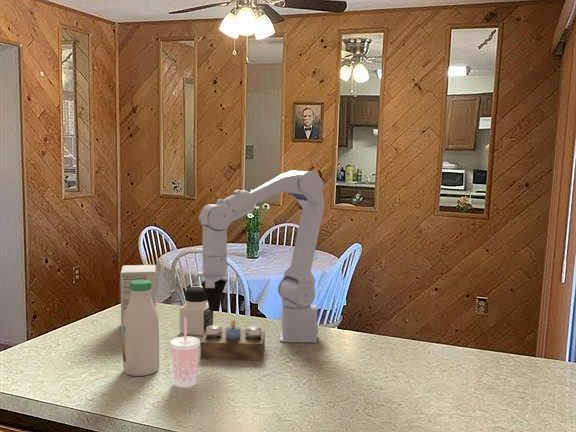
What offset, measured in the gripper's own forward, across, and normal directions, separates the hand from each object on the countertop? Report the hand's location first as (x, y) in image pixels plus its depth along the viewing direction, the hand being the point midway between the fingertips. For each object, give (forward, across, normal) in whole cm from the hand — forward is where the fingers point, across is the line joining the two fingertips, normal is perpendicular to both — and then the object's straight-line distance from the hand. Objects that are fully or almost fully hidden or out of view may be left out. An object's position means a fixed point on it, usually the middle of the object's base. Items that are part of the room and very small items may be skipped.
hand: (214, 310), depth 129 cm
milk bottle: (+11, +12, -14) cm, 22 cm away
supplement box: (+11, -17, -23) cm, 31 cm away
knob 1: (+10, 0, 0) cm, 10 cm away
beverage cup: (+11, +18, -3) cm, 21 cm away
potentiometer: (+6, +1, +5) cm, 8 cm away
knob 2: (+10, 0, +9) cm, 14 cm away
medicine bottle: (+11, -16, -7) cm, 20 cm away
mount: (+10, 0, +5) cm, 11 cm away
